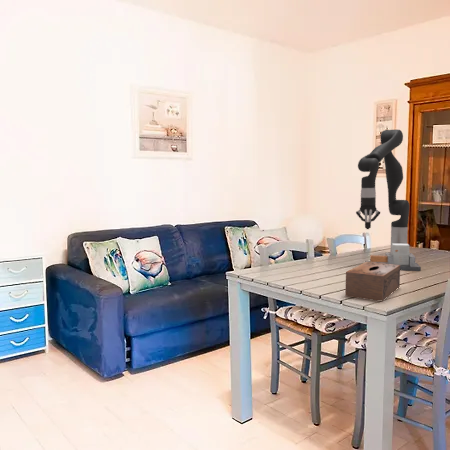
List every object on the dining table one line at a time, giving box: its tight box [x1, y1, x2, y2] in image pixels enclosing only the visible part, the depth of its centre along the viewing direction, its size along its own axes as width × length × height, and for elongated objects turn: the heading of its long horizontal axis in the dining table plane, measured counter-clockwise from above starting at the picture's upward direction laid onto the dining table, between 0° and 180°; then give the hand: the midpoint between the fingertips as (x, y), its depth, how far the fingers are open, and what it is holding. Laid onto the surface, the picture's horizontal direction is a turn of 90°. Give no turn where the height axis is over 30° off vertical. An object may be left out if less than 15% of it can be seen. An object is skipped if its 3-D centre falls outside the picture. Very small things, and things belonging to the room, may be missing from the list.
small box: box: [390, 243, 410, 265], centre depth 234 cm, size 8×6×10 cm
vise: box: [364, 252, 422, 272], centre depth 236 cm, size 12×26×7 cm, turn 76°
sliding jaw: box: [369, 251, 393, 264], centre depth 237 cm, size 12×10×5 cm
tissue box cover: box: [345, 261, 401, 302], centre depth 187 cm, size 26×14×10 cm, turn 146°
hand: (367, 229), depth 242 cm, fingers closed
